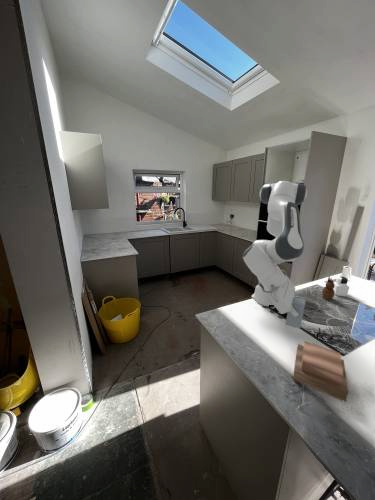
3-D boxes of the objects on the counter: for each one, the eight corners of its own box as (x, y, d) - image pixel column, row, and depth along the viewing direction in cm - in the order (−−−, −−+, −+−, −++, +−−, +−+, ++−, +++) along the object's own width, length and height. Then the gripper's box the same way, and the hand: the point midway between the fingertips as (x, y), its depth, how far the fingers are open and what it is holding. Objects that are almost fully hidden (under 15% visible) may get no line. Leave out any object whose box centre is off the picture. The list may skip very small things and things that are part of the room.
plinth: (296, 351, 90) (299, 336, 87) (341, 367, 82) (346, 351, 79) (292, 379, 77) (296, 362, 74) (345, 401, 69) (351, 383, 66)
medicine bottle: (341, 291, 143) (345, 275, 139) (346, 296, 136) (351, 280, 133) (330, 290, 144) (334, 274, 141) (334, 295, 138) (338, 279, 134)
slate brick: (287, 318, 83) (291, 296, 80) (300, 322, 80) (305, 299, 77) (285, 324, 79) (289, 301, 76) (300, 329, 76) (304, 305, 73)
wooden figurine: (319, 295, 137) (324, 274, 133) (328, 295, 137) (333, 275, 132) (325, 300, 131) (330, 279, 126) (334, 301, 130) (340, 279, 126)
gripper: (276, 287, 69) (303, 322, 67) (284, 268, 86) (306, 295, 84) (261, 296, 73) (286, 328, 71) (271, 276, 89) (292, 302, 87)
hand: (297, 310), depth 77 cm, fingers closed on slate brick, 5 cm apart
